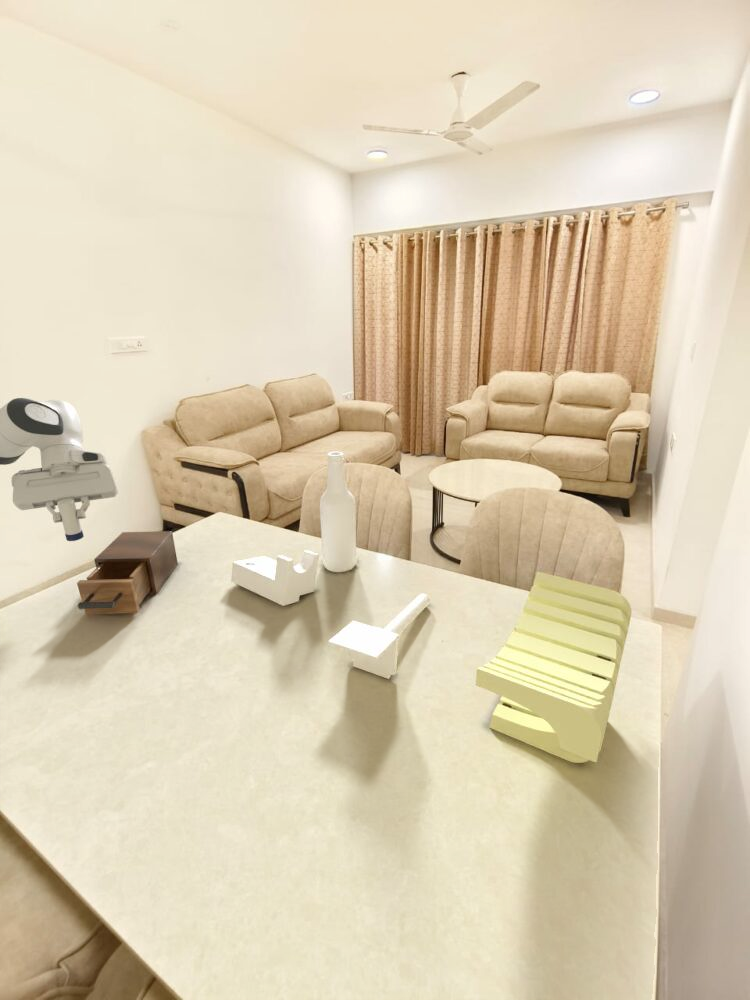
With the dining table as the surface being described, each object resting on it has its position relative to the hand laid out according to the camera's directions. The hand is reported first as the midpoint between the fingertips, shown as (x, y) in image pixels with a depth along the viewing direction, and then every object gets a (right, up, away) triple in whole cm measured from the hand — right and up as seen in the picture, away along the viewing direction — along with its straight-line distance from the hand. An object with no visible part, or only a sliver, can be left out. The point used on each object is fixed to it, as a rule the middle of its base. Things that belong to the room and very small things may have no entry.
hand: (69, 519), depth 111 cm
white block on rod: (+71, -25, -11) cm, 76 cm away
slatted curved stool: (+96, -31, -30) cm, 105 cm away
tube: (0, -4, +2) cm, 5 cm away
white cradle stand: (+44, -17, +10) cm, 48 cm away
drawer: (+10, -19, +2) cm, 21 cm away
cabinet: (+10, -15, +14) cm, 23 cm away
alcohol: (+59, -13, +19) cm, 63 cm away
